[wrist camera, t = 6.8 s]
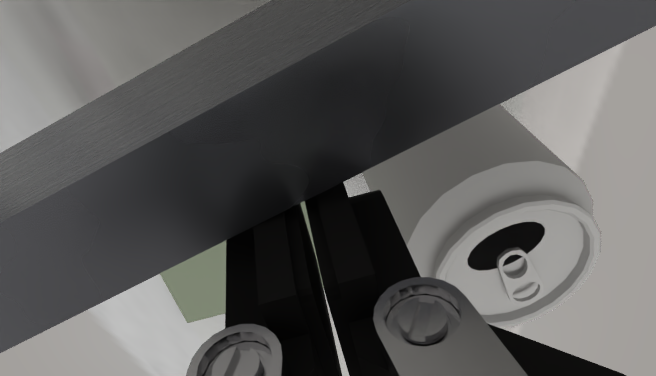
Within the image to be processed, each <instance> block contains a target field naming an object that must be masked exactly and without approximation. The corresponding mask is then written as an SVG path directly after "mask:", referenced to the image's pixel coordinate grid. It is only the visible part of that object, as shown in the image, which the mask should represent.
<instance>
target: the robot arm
mask: <svg viewBox="0 0 656 376" xmlns="http://www.w3.org/2000/svg"><path fill="white" fill-rule="evenodd" d="M305 205H306V210H307V214H308V219H309V224H310V228H311V233H312V237H313V242H314V246H315V251H316V255H317V259H316V255H315V252H314V248H313V245H312V241H311V238H310V235H309V231H308V228H307V224H306V221H305V217H304V214H303V211H302V207H301V204H298V205H296V206H294V207H292V208H290V209H288V210H286V211H284V212H282V213H280V214H278V215H276V216H274V217H272V218H270V219H268V220H266V221H264V222H262V223H260V224H258V225H256V226H253V227H252V228H250V229H248V230H246V231H244V232H242V233H240V234H238V235H236V236H234V237H232V238H230V239H228V240H226V319H225V329H224V330H222V331H220V332H218V333H216V334H214V335H213V336H212V337H211V338H209V339H208V340H207V341H206V342H205V343H204V344H202V345H201V347H200V348H199V349H198V351H197V352H196V353H195V355H194V356H193V358H192V360H191V363H190V365H189V368H188V370H187V374H186V376H342V373H341V368H340V364H339V359H338V355H337V350H336V346H335V341H334V336H333V332H332V327H331V323H330V318H329V313H328V309H327V304H326V300H325V295H324V290H325V294H326V297H327V301H328V304H329V308H330V311H331V314H332V318H333V321H334V325H335V328H336V331H337V335H338V338H339V341H340V345H341V348H342V352H343V355H344V358H345V362H346V365H347V368H348V372H349V375H350V376H626V375H624V374H622V373H619V372H617V371H613V370H611V369H608V368H606V367H603V366H600V365H598V364H595V363H592V362H590V361H587V360H584V359H581V358H579V357H576V356H574V355H571V354H568V353H565V352H563V351H560V350H557V349H555V348H552V347H549V346H547V345H544V344H541V343H539V342H536V341H533V340H531V339H528V338H525V337H523V336H520V335H517V334H514V333H512V332H509V331H506V330H504V329H501V328H498V327H496V326H493V325H490V324H488V323H486V321H485V320H484V319H483V318H482V316H481V315H480V314H479V313H478V311H477V310H476V309H475V307H474V306H473V305H472V304H471V302H470V301H469V300H468V298H467V297H466V296H465V295H464V294H463V293H462V292H461V291H460V290H459V289H458V288H457V287H456V286H454V285H452V284H450V283H448V282H446V281H444V280H440V279H435V278H431V277H421V276H420V274H419V272H418V270H417V267H416V265H415V263H414V261H413V259H412V256H411V254H410V252H409V250H408V248H407V246H406V243H405V241H404V239H403V237H402V235H401V233H400V230H399V228H398V226H397V224H396V222H395V219H394V217H393V215H392V213H391V211H390V209H389V206H388V204H387V202H386V200H385V198H384V196H383V194H382V192H381V190H376V191H372V192H368V193H365V194H361V195H357V196H353V197H349V198H348V195H347V192H346V189H345V186H344V183H343V182H342V183H340V184H338V185H336V186H334V187H332V188H330V189H328V190H326V191H324V192H322V193H320V194H318V195H316V196H314V197H312V198H310V199H308V200H306V201H305ZM317 260H318V263H317ZM318 265H319V267H318ZM319 269H320V272H319ZM320 274H321V277H320ZM321 278H322V281H321ZM322 282H323V286H324V290H323V286H322Z"/></svg>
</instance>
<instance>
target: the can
mask: <svg viewBox="0 0 656 376" xmlns="http://www.w3.org/2000/svg"><path fill="white" fill-rule="evenodd" d="M363 175H364V177H365V179H366V182H367V184H368V187H369V189H370V191H371V192H372V191H376V190H381V192H382V194H383V196H384V198H385V200H386V202H387V204H388V206H389V209H390V211H391V213H392V215H393V217H394V219H395V222H396V224H397V226H398V228H399V230H400V233H401V235H402V237H403V239H404V241H405V243H406V246H407V248H408V250H409V252H410V254H411V256H412V259H413V261H414V263H415V265H416V267H417V270H418V272H419V274H420V276H421V277H431V278H435V279H440V280H444V281H446V282H448V283H450V284H452V285H454V286H456V287H457V288H458V289H459V290H460V291H461V292H462V293H463V294H464V295H465V296H466V297H467V298H468V300H469V301H470V302H471V304H472V305H473V306H474V307H475V309H476V310H477V311H478V313H479V314H480V315H481V316H482V318H483V319H484V320H485V321H486V323H488V324H490V325H493V326H496V327H498V328H501V329H504V328H511V327H515V326H518V325H521V324H524V323H527V322H530V321H532V320H535V319H538V318H539V317H541V316H543V315H545V314H546V313H548V312H550V311H552V310H554V309H555V308H557V307H559V306H560V305H561V304H562V303H563V302H565V301H566V300H567V299H568V298H569V297H571V296H572V295H573V294H574V293H576V292H577V291H578V289H579V288H580V287H581V286H582V284H583V283H584V282H585V281H586V279H587V278H588V276H589V275H590V274H591V273H592V271H593V268H594V266H595V263H596V261H597V258H598V256H599V254H600V251H601V231H600V229H599V227H598V225H597V223H596V221H595V219H594V217H593V199H592V198H591V195H590V193H589V191H588V189H587V187H586V185H585V183H584V181H583V180H582V179H581V178H580V177H579V176H578V175H577V174H576V173H574V172H573V171H572V170H571V169H570V168H569V167H568V166H567V165H566V164H565V163H564V162H562V161H561V160H560V159H559V158H558V157H557V156H556V155H555V154H554V153H553V152H551V151H550V150H549V149H548V148H547V147H546V146H545V145H544V144H543V143H542V142H540V141H539V140H538V139H537V138H536V137H535V136H534V135H533V134H532V133H531V132H530V131H528V130H527V129H526V128H525V127H524V126H523V125H522V124H521V123H520V122H519V121H517V120H516V119H515V118H514V117H513V116H512V115H511V114H510V113H509V112H508V111H507V110H505V109H504V108H503V107H502V106H501V105H500V104H498V105H496V106H494V107H492V108H490V109H488V110H486V111H484V112H482V113H480V114H478V115H476V116H474V117H472V118H470V119H468V120H466V121H464V122H462V123H460V124H458V125H456V126H454V127H452V128H450V129H448V130H446V131H444V132H442V133H440V134H438V135H436V136H434V137H432V138H430V139H428V140H426V141H424V142H422V143H420V144H418V145H416V146H414V147H412V148H410V149H408V150H406V151H404V152H402V153H400V154H398V155H396V156H394V157H392V158H390V159H388V160H386V161H384V162H382V163H380V164H378V165H376V166H374V167H372V168H370V169H368V170H366V171H364V172H363Z"/></svg>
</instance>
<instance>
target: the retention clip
mask: <svg viewBox="0 0 656 376" xmlns="http://www.w3.org/2000/svg"><path fill="white" fill-rule="evenodd" d="M654 26H656V0H272V1H270V2H268V3H266V4H265V5H263V6H261V7H259V8H258V9H256V10H254V11H252V12H250V13H249V14H247V15H245V16H243V17H242V18H240V19H238V20H236V21H234V22H233V23H231V24H229V25H227V26H226V27H224V28H222V29H220V30H218V31H217V32H215V33H213V34H211V35H210V36H208V37H206V38H204V39H202V40H201V41H199V42H197V43H195V44H194V45H192V46H190V47H188V48H186V49H185V50H183V51H181V52H179V53H178V54H176V55H174V56H172V57H170V58H169V59H167V60H165V61H163V62H162V63H160V64H158V65H156V66H154V67H153V68H151V69H149V70H147V71H146V72H144V73H142V74H140V75H138V76H137V77H135V78H133V79H131V80H130V81H128V82H126V83H124V84H122V85H121V86H119V87H117V88H115V89H114V90H112V91H110V92H108V93H106V94H105V95H103V96H101V97H99V98H98V99H96V100H94V101H92V102H90V103H89V104H87V105H85V106H83V107H82V108H80V109H78V110H76V111H74V112H73V113H71V114H69V115H67V116H66V117H64V118H62V119H60V120H58V121H57V122H55V123H53V124H51V125H50V126H48V127H46V128H44V129H42V130H41V131H39V132H37V133H35V134H34V135H32V136H30V137H28V138H26V139H25V140H23V141H21V142H19V143H18V144H16V145H14V146H12V147H10V148H9V149H7V150H5V151H3V152H2V153H0V353H1V352H3V351H5V350H7V349H9V348H11V347H13V346H15V345H17V344H19V343H21V342H23V341H25V340H27V339H29V338H31V337H33V336H35V335H37V334H39V333H41V332H43V331H45V330H47V329H49V328H51V327H53V326H55V325H57V324H60V323H61V322H63V321H65V320H68V319H69V318H71V317H73V316H75V315H77V314H80V313H81V312H83V311H86V310H88V309H90V308H92V307H94V306H96V305H98V304H100V303H102V302H104V301H106V300H108V299H110V298H112V297H114V296H116V295H118V294H120V293H122V292H124V291H126V290H128V289H130V288H132V287H134V286H136V285H138V284H140V283H142V282H144V281H146V280H148V279H150V278H152V277H154V276H156V275H158V274H160V273H162V272H164V271H166V270H168V269H170V268H172V267H174V266H176V265H178V264H180V263H182V262H184V261H186V260H188V259H190V258H192V257H194V256H196V255H198V254H200V253H202V252H204V251H206V250H208V249H210V248H212V247H214V246H216V245H218V244H220V243H222V242H224V241H226V240H228V239H230V238H232V237H234V236H236V235H238V234H240V233H242V232H244V231H246V230H248V229H250V228H252V227H253V226H256V225H258V224H260V223H262V222H264V221H266V220H268V219H270V218H272V217H274V216H276V215H278V214H280V213H282V212H284V211H286V210H288V209H290V208H292V207H294V206H296V205H298V204H300V203H302V202H304V201H306V200H308V199H310V198H312V197H314V196H316V195H318V194H320V193H322V192H324V191H326V190H328V189H330V188H332V187H334V186H336V185H338V184H340V183H342V182H344V181H346V180H348V179H350V178H352V177H354V176H356V175H358V174H360V173H362V172H364V171H366V170H368V169H370V168H372V167H374V166H376V165H378V164H380V163H382V162H384V161H386V160H388V159H390V158H392V157H394V156H396V155H398V154H400V153H402V152H404V151H406V150H408V149H410V148H412V147H414V146H416V145H418V144H420V143H422V142H424V141H426V140H428V139H430V138H432V137H434V136H436V135H438V134H440V133H442V132H444V131H446V130H448V129H450V128H452V127H454V126H456V125H458V124H460V123H462V122H464V121H466V120H468V119H470V118H472V117H474V116H476V115H478V114H480V113H482V112H484V111H486V110H488V109H490V108H492V107H494V106H496V105H498V104H500V103H502V102H504V101H506V100H508V99H510V98H512V97H514V96H516V95H518V94H520V93H522V92H524V91H526V90H528V89H530V88H532V87H534V86H536V85H538V84H540V83H542V82H544V81H546V80H548V79H550V78H552V77H554V76H556V75H558V74H560V73H562V72H564V71H566V70H568V69H570V68H572V67H574V66H576V65H578V64H580V63H582V62H584V61H586V60H588V59H590V58H592V57H594V56H596V55H598V54H600V53H602V52H604V51H606V50H608V49H610V48H612V47H614V46H616V45H618V44H620V43H622V42H624V41H626V40H628V39H630V38H632V37H634V36H636V35H638V34H640V33H642V32H644V31H646V30H648V29H650V28H652V27H654Z"/></svg>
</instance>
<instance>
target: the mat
mask: <svg viewBox="0 0 656 376" xmlns="http://www.w3.org/2000/svg"><path fill="white" fill-rule="evenodd" d="M300 204H301V207H302V211H303V214H304V217H305V221H306V224H307V228H308V231H309V235H310V238H311V241H312V245H313V248H314V252H315V255H316V251H315V246H314V242H313V237H312V233H311V228H310V224H309V219H308V214H307V210H306V205H305V201H304V202H302V203H300ZM316 259H317V255H316ZM317 263H318V260H317ZM318 267H319V265H318ZM319 272H320V269H319ZM160 275H161V276H162V278H163V280H164V282H165V284H166V285H167V287H168V289H169V291H170V293H171V294H172V296H173V298H174V300H175V302H176V303H177V305H178V307H179V309H180V311H181V312H182V314H183V316H184V318H185V320H186V321H187V323H190V322H194V321H197V320H201V319H205V318H209V317H213V316H217V315H221V314H224V313H226V241H224V242H222V243H220V244H218V245H216V246H214V247H212V248H210V249H208V250H206V251H204V252H202V253H200V254H198V255H196V256H194V257H192V258H190V259H188V260H186V261H184V262H182V263H180V264H178V265H176V266H174V267H172V268H170V269H168V270H166V271H164V272H162V273H160ZM320 277H321V274H320ZM321 281H322V278H321ZM322 286H323V282H322ZM323 288H324V286H323Z"/></svg>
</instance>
